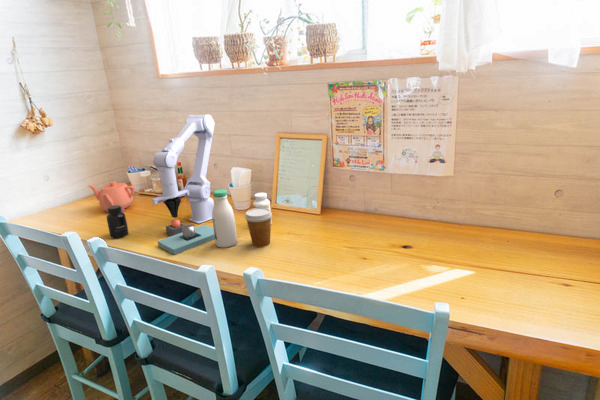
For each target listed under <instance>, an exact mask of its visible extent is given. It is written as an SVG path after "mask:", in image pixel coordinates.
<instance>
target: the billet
mask: <svg viewBox="0 0 600 400" xmlns="http://www.w3.org/2000/svg"><path fill="white" fill-rule="evenodd" d="M194 228H195V224H193V223H191V224H190V223H188V224H186V225H184V226H182V232H183V238H184V240H186V241H189V240H191V239H194V238H196V235H195V229H194Z"/></svg>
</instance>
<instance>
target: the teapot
mask: <svg viewBox="0 0 600 400" xmlns="http://www.w3.org/2000/svg"><path fill="white" fill-rule="evenodd" d="M88 187H89V188H91V190H92V191H93V193H94V196H95V198H96V200H97V201H99V207H100V208H101V209H102V210H103V211H105V213H106V214H109V213H108V209H107V208H108V207H110V206H115V205H119V206H121V209H122V211H121V212H123V213H125V211H126V208H131V207H132V204H133V201H134V194H135V192H136V186H134V185H128V184H127V183H125V182H117V181H110V182H109V183H108V184H106V185H104V186H102V187H101V189H100V190H98V188H97V187H96V186H95V185H88ZM130 206H131V207H130Z"/></svg>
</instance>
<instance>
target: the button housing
mask: <svg viewBox="0 0 600 400" xmlns="http://www.w3.org/2000/svg"><path fill="white" fill-rule="evenodd" d="M180 225H181V226H179V227H177V228H173V227H172V223H171V224H168V225H165V230H166V234H168V235H169V236H170V237H171V236H173V235H176V234H179V233H182V226H184V225H187V224H186V223H183V222H181V221H180Z"/></svg>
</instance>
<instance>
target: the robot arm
mask: <svg viewBox="0 0 600 400" xmlns="http://www.w3.org/2000/svg"><path fill="white" fill-rule="evenodd" d="M215 125H216V123H215V120H214V118H213V117H212V115H211V114H189V115H188V116H187V118H186V119H185V124H184V126H183V127H182V129H181V130H180V132H179V133H178V134H177V136H176V137H172V138H169V140H168V143H167V144H166V145H165V146H164V147H163V148H162V150H161V151H158V152H156V154H155V155H154V156H153V164H154V166H155V167H156V170H157V171H158V175H159V178H160V184H161V192H162V194H161V195H159V196H156V197H153V198H151V201H152V204H153V205H157V204H159V203H162V202H163V204H164V205H165V207H166V208H167V209H168V211H169V213H170V215H171V217H172V218H175V219H176V218H177V217H178V213H179V207H180V204H181V202H182V201H181V200H182V198H181V197H183V196H185V198H187V201H189V205H190V211H191V217H190V218H188V220H189V221H191V222H193V223H196V224H197V225H199V224H202V223H204V222H208V221H210V220H213V219H212V211H213V207H214V203H215V200H214V199H213V198H212V197H211V196H210V195H211V182H210V181H209V180H208V179H207V172H208V167H209V160H210V155H211V148H212V144H213V143H212V142H213V136H214V130H215ZM192 135H194V136H195V137H196V138H197V139H198V143H197V148H196V153H195V160H194V167H193V171H192V175H191V176H190V177H189V178H188V179H187V181H186V184H185V186H184V188H183V189H181V190H179V189H178V182H177V175H176V169H175V166H176V165H177V162H178V161H177V160H178V158H179V155H180V154H181V153H182V151H183V150H184V149H185V143H186V142H187V141H188V140H189V139H190V138H191V136H192Z"/></svg>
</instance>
